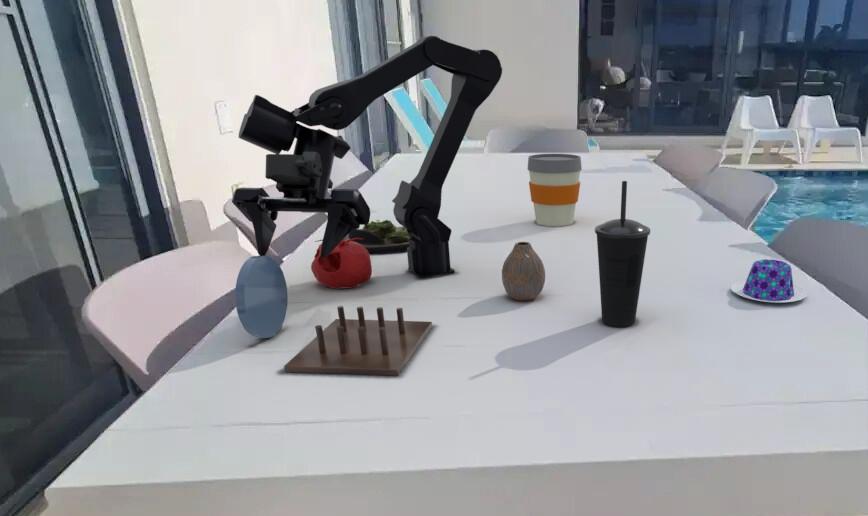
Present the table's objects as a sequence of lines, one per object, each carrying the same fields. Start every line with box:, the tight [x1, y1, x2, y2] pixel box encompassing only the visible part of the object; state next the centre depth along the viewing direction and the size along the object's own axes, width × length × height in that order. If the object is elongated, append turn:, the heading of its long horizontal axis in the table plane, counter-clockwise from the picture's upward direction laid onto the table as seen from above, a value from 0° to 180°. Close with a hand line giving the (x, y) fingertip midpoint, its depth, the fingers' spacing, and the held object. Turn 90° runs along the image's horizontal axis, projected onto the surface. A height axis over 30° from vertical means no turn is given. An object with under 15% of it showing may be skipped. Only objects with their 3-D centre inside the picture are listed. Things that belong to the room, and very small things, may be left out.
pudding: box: [730, 258, 808, 304], centre depth 104 cm, size 12×12×5 cm
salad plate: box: [344, 219, 413, 255], centre depth 134 cm, size 19×18×5 cm
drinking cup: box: [594, 180, 651, 328], centre depth 89 cm, size 8×8×20 cm
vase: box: [501, 241, 546, 302], centre depth 101 cm, size 7×7×9 cm
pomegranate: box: [310, 235, 373, 289], centre depth 107 cm, size 10×10×9 cm
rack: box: [283, 305, 433, 376], centre depth 83 cm, size 16×14×4 cm
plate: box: [234, 255, 289, 339], centre depth 86 cm, size 11×1×11 cm, turn 176°
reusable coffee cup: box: [527, 153, 582, 227], centre depth 150 cm, size 13×12×15 cm
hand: (292, 256), depth 92 cm, fingers open, 9 cm apart
